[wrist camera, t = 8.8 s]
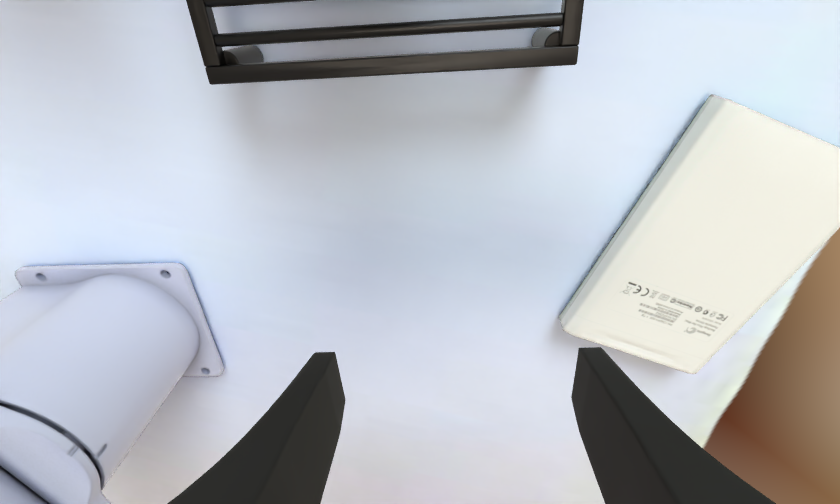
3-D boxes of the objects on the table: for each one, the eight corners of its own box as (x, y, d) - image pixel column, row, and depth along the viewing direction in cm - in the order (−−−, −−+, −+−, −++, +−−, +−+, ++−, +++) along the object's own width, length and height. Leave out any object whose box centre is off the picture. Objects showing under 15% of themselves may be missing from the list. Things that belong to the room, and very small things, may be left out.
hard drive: (865, 160, 19) (684, 357, 25) (705, 91, 18) (556, 314, 24) (900, 173, 17) (699, 378, 23) (729, 99, 16) (564, 334, 22)
